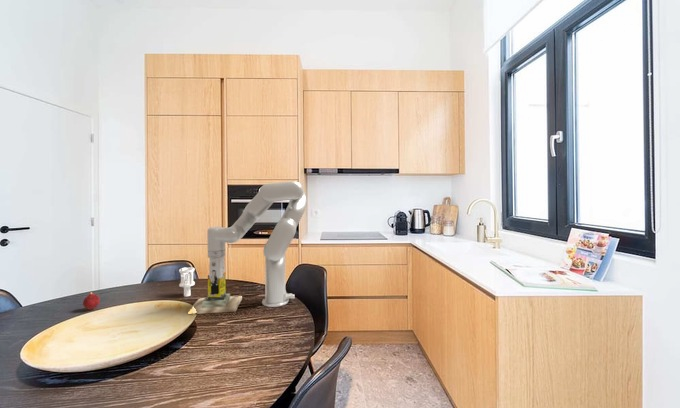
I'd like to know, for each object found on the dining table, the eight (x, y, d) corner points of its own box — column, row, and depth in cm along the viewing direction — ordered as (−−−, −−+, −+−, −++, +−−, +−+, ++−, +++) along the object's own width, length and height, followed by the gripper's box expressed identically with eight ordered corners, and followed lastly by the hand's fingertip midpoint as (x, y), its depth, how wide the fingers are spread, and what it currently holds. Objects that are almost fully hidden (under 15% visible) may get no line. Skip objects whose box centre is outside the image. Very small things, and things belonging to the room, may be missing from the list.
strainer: (176, 297, 145) (175, 268, 145) (187, 292, 152) (187, 265, 152) (187, 298, 143) (186, 269, 143) (197, 294, 150) (197, 265, 150)
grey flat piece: (241, 298, 143) (241, 290, 143) (235, 311, 127) (235, 302, 127) (199, 301, 139) (199, 293, 139) (187, 314, 124) (187, 305, 123)
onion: (103, 307, 131) (103, 290, 131) (91, 312, 126) (91, 294, 125) (92, 307, 132) (91, 290, 132) (79, 312, 126) (79, 294, 126)
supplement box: (220, 299, 130) (220, 275, 130) (207, 298, 130) (207, 275, 130) (226, 294, 136) (225, 271, 136) (213, 294, 136) (213, 271, 136)
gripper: (220, 256, 125) (220, 297, 125) (228, 249, 142) (229, 285, 142) (202, 257, 123) (202, 298, 124) (213, 250, 141) (213, 286, 141)
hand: (217, 290), depth 133 cm, fingers closed on supplement box, 6 cm apart
